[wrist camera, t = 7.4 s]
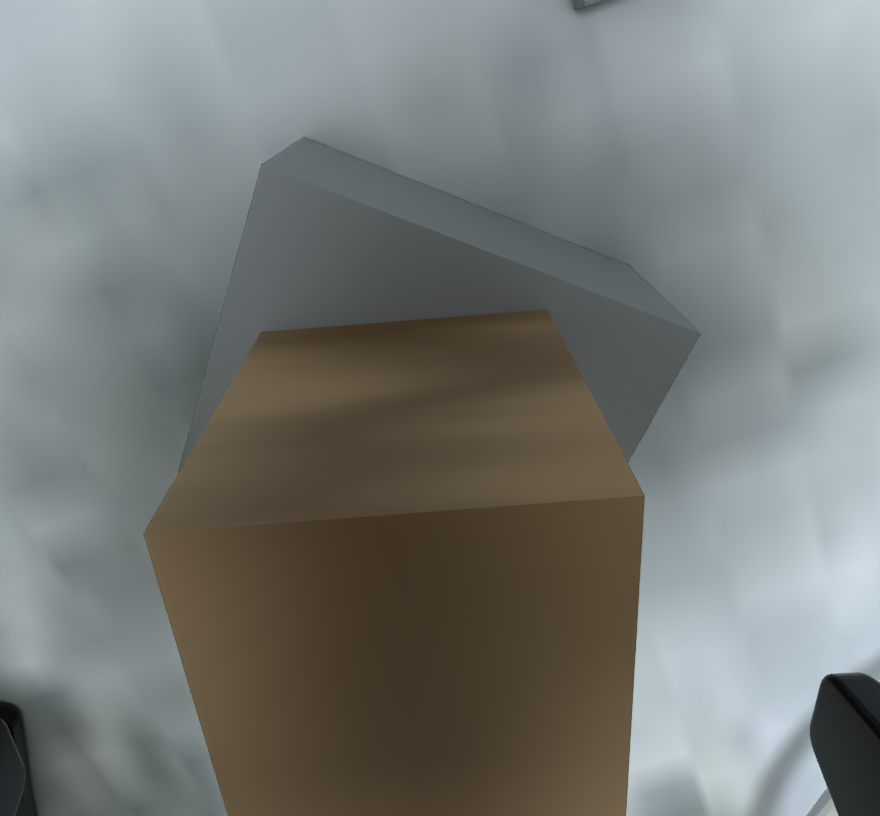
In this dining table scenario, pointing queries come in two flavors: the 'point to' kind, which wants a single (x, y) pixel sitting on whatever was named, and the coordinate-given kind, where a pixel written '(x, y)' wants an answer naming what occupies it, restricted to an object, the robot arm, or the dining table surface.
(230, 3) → the dining table surface
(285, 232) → the slate base
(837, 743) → the robot arm
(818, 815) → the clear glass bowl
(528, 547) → the walnut block
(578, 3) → the plaque
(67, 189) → the dining table surface
